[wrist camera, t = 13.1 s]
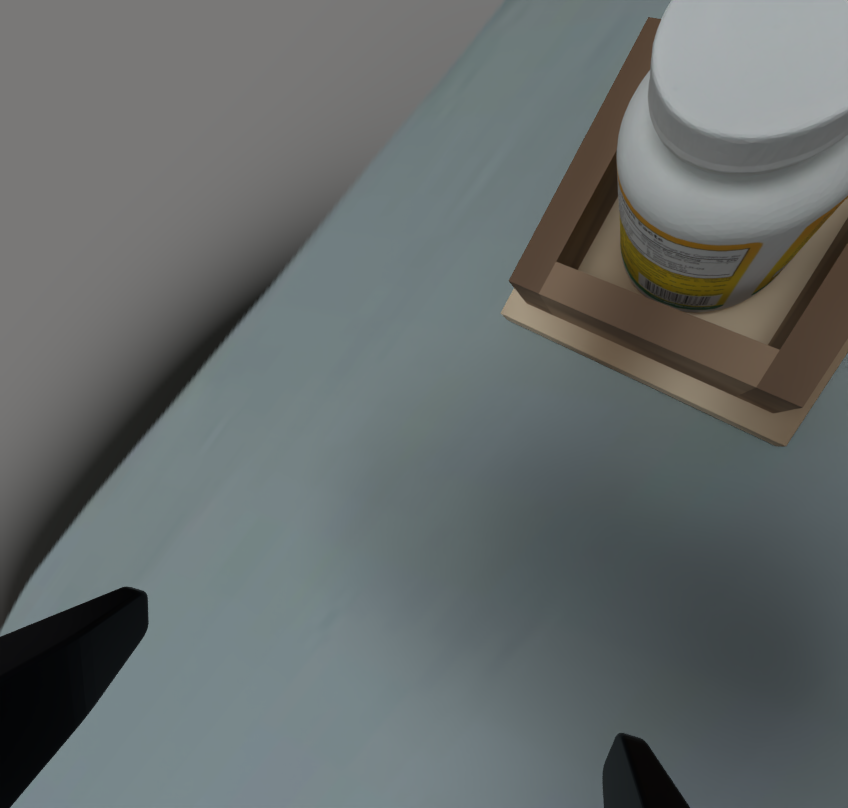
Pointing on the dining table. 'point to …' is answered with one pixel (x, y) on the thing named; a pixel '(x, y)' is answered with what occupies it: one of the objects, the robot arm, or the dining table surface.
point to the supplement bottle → (732, 147)
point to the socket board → (671, 328)
